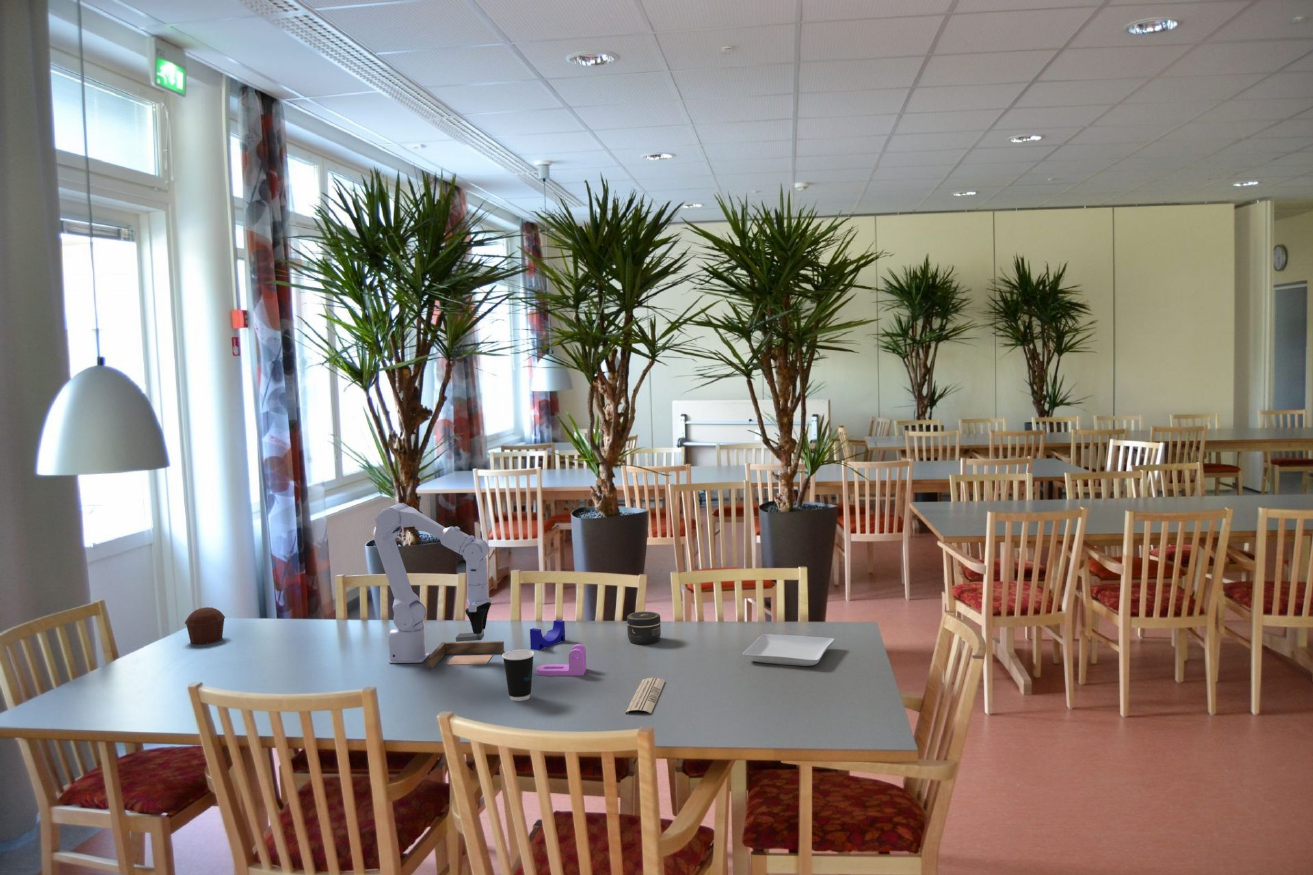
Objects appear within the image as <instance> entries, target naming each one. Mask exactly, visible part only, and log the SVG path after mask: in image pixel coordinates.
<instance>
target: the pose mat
mask: <svg viewBox="0 0 1313 875" xmlns="http://www.w3.org/2000/svg"><path fill="white" fill-rule="evenodd" d="M492 657H493V654H482V655H478V654H477V655H453V657H452V658H451V659H450V660H449V661H448V662H447V664H446V666H460V665H461V666H465V665H466V666H467V665H468V666H469V665H471V666H472V665H488V663H489V662H490V660H491V659H492Z"/></svg>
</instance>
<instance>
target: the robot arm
mask: <svg viewBox="0 0 1313 875" xmlns="http://www.w3.org/2000/svg"><path fill="white" fill-rule="evenodd" d="M374 520H375V524H376V525H375V531H374V537H373V540H374V543H375V545H376V550H377V551H378V555H379V558H380V561H381V563H382V564H381V565H382V567H383V569H384V573H385V575H386V578H387V582H388V584H389V587H390V590H391V593H392V596H393V598H394V599H393V604H392V611H393V618H392V619H393V624H394V625H395V627H396V628H392V629H390V631H389V636H388V646H389V648H388V650H389V651H388V652H389V662H388V663H389V664H405V663H406V664H410V663H411V664H413V663H414V664H415V663H418V664H419V663H420V664H421V663H423V662H424V661H425V660H426V659H428V657H429V656H430V655H431V653H430V652H426V644H425V625H424V620H426V617H427V608H426V606H425V605H424V603H423V602H422V601H421V599H420V597H419V595H417V594H416V593H415V592H414V591H413V589H412V585H411V582H410V579H409V576H408V574H407V571H406V567H405V565H404V562H403V559H402V556H401V552H400V550H399V547H398V545H397V541H396V538H397V537H398V535H399V533H400V532H401V530H402V529H403V528H412V527H415V528H417V529H419V530H421V531H423V532H425V533H427V534H429V535H431V536H434V537H436V538H437V539H438V540H439V541H440V543H441V545H442V546H444V547H446V548H447V549H450V550H451V551H453V552H455V553H457V554H459V555H460V556H462V558H463V560H464V561H465V563H466V570H465V571H466V592H467V594H466V595H467V599H466V603H467V606H468V607H466V608H465V610H464V611H465V614H466V616H467V618H468V619H469V623H470V626H471V629H472V633H474V634H481V633H482V627H483V629H484V630H486V626H487V621H488V620H487V619H488V616H489V611H490V608H491V606H492V602H493V601H494V599H493V597H489V585H488V584H489V582H488V581H489V579H488V563H487V562H488V561H487V556H488V554H489V552H490V548H489V545H488V543H487V542H486V541H485V540H484V539H483V538H482V537H479V538H478V537H477V538H475V536H474V535H469V534H467V533H465V532H463V531H462V530H461V528H460V527H459V526H449V527H445V526H443V525H441V524H440V523H438V522H437V521H435V520H433V519H431V518H430V517H429V516H428V515H425V514H423V513H421V512H420V511H418V510H417V509H416V508H414V507H413V506H409V505H408V504H406V503H403V502H399V503H396V504H394V505H392V506H388V507H384V508H382V509H380V511H379V513H378V514H377V516H376V518H374Z"/></svg>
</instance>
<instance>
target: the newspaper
mask: <svg viewBox="0 0 1313 875" xmlns="http://www.w3.org/2000/svg"><path fill="white" fill-rule="evenodd" d="M665 682H666V680H664V679H662V678H657V677H648V678H647V677H646V678H643V679H642V680H641V681H640V682H639V685H638V687H637V689H636V691H635V694H634V695H633V697H632V699H631V701H630V703H629V704H628V707H627V709H626V711H625V713H626V714H629V713H630V712H632V711H633V712H634V711H642V712H643V711H644V712H647V713H648V714H649V715H651V714H652V713H653V710H654V708H655V706H656V704H657V702H658V699H659V697H660V694H661V692H662V689H663V687H664V685H665Z"/></svg>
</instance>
